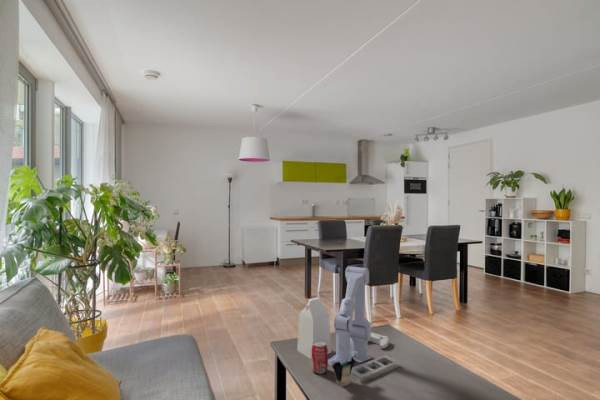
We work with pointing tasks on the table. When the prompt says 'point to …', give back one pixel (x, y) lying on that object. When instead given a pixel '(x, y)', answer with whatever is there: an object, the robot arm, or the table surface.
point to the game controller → (379, 340)
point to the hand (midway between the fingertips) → (343, 378)
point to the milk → (313, 327)
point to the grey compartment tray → (370, 372)
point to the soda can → (319, 357)
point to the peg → (345, 374)
